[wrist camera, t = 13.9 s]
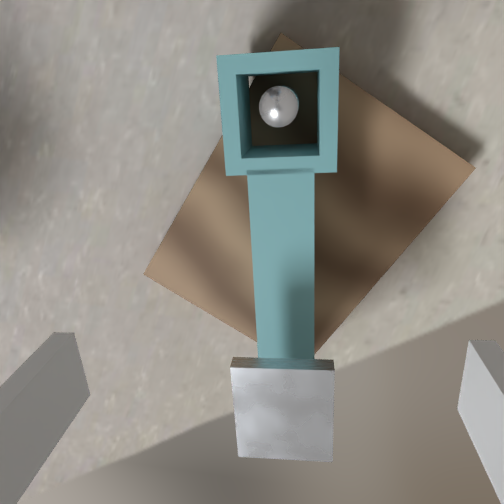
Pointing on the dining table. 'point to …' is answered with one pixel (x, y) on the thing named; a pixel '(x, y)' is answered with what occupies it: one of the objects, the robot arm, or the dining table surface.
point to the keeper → (283, 408)
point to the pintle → (279, 106)
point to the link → (280, 194)
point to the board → (325, 207)
